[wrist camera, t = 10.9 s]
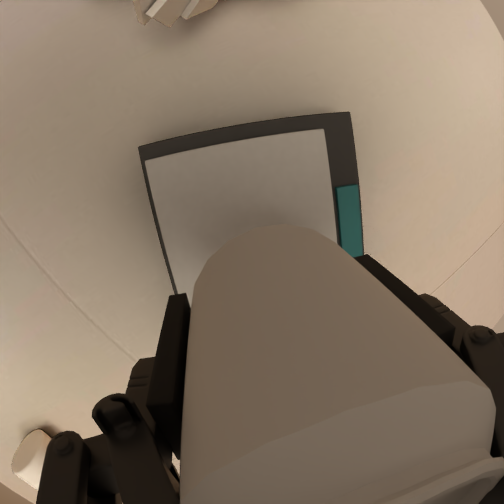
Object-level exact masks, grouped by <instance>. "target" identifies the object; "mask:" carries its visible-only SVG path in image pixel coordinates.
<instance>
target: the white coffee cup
mask: <svg viewBox="0 0 504 504" xmlns="http://www.w3.org/2000/svg"><path fill="white" fill-rule="evenodd" d="M51 439H52V438H51V437H49V436H48V435H47V434H46V433H45V432H43V431H42V430H39V429H38V430H34V431H33V432H31V433H30V434H29V435H28V436H26V438H25V439H24V440H23V441H22V442H21V444H20V445H19V447H18V448H17V450H16V452H15V454H14V457H13V460H12V471H13V473H14V474H15V475H16V476H18V477H19V478H20V479H22V480H23V481H25V482H26V483H27V484H29V485H30V486H32V487H33V488H35V489H36V490H38V488H39V483H40V477H41V472H42V467H43V462H44V458H45V453H46V449H47V446H48V444H49V441H50V440H51Z"/></svg>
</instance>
